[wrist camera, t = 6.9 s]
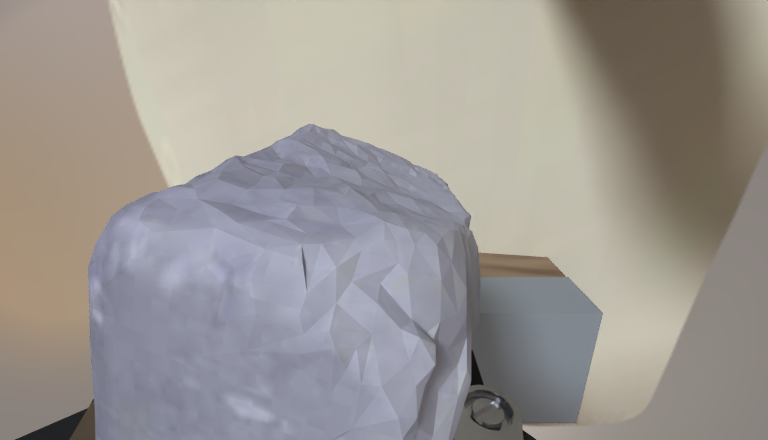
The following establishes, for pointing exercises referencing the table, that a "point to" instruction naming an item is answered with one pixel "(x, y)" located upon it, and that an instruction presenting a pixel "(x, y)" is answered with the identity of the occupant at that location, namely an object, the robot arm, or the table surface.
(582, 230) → the table surface
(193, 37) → the table surface
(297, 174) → the stone block
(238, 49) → the table surface
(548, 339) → the tower top
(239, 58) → the table surface
